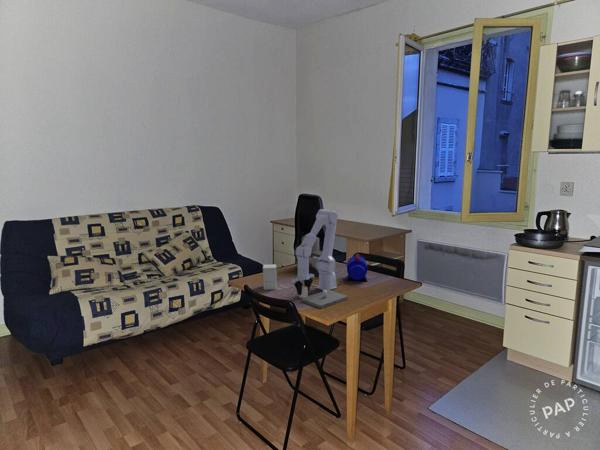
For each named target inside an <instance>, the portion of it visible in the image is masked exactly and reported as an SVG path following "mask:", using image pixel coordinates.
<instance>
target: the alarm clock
mask: <svg viewBox="0 0 600 450" xmlns="http://www.w3.org/2000/svg"><path fill="white" fill-rule="evenodd" d="M367 263H368V262H367V261H366V259H365V258H364V257H362V256H360V255H359V253H355V254H354V255H353V256H352V257H350V258H348V260H347V262H346V271H347V275H346V281H347V282H348V281H351V280H353V281H360V280H363V281H365V282H366V283H367V282H368V276H367V273H368V264H367Z"/></svg>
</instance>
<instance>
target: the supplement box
mask: <svg viewBox="0 0 600 450" xmlns="http://www.w3.org/2000/svg"><path fill="white" fill-rule="evenodd" d="M262 280H263V285H262V286H263V287H262V288H263V290H265V291H268V290H269V291H270V290H277V287H278V286H277V284H278V283H277V264H263V265H262Z"/></svg>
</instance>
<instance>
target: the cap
mask: <svg viewBox="0 0 600 450" xmlns="http://www.w3.org/2000/svg"><path fill="white" fill-rule="evenodd" d="M307 296H309V293H308V287H307V286H305V285H303V286H302V294H301V295H298V297H299V298H300V299H301V298H304V297H307Z"/></svg>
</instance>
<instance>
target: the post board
mask: <svg viewBox="0 0 600 450" xmlns="http://www.w3.org/2000/svg"><path fill="white" fill-rule="evenodd" d="M300 299H301V301H300V302H302V303H305V304H308V305H310V306H313V307H315V308H318V309H324V308H326V307H329V306H333V305H336V304H338V303H341V302H344V301H347V300H348V299H349V295H345V294H342V293H339V292H337V291H334V290H332V289H331V290H322V291H321V292H317V293H314V294H311V295H308V296H307V297H304V298H301V297H300Z"/></svg>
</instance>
